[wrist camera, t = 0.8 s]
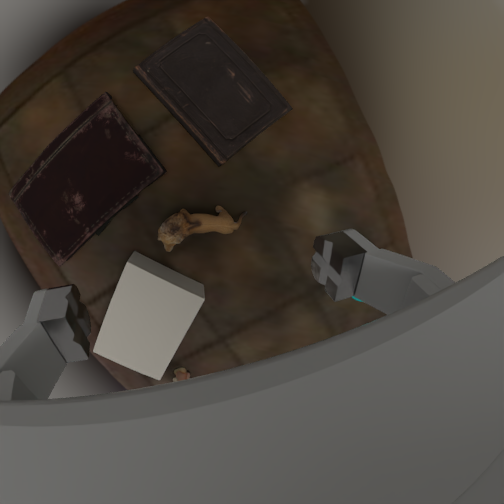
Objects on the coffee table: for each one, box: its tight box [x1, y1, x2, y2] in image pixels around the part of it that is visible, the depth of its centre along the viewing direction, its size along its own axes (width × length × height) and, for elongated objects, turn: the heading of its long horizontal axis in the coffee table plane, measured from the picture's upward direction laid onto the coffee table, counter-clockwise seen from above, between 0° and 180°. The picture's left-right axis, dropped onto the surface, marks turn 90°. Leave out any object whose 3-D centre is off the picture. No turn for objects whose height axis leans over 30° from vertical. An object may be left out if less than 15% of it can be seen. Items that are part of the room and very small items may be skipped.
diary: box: [9, 92, 167, 266], centre depth 42 cm, size 19×25×5 cm
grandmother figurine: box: [173, 367, 190, 382], centre depth 52 cm, size 8×4×13 cm, turn 19°
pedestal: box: [93, 251, 205, 380], centre depth 50 cm, size 14×20×6 cm
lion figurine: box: [158, 206, 247, 252], centre depth 45 cm, size 15×5×9 cm, turn 98°
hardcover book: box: [133, 17, 293, 166], centre depth 43 cm, size 16×23×2 cm
